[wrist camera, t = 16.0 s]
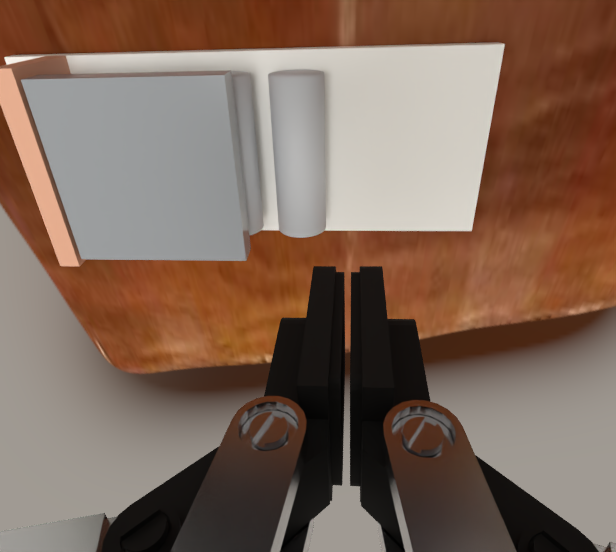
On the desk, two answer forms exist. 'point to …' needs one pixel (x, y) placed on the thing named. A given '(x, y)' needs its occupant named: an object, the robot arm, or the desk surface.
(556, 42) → the desk surface
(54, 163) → the slab
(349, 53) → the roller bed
